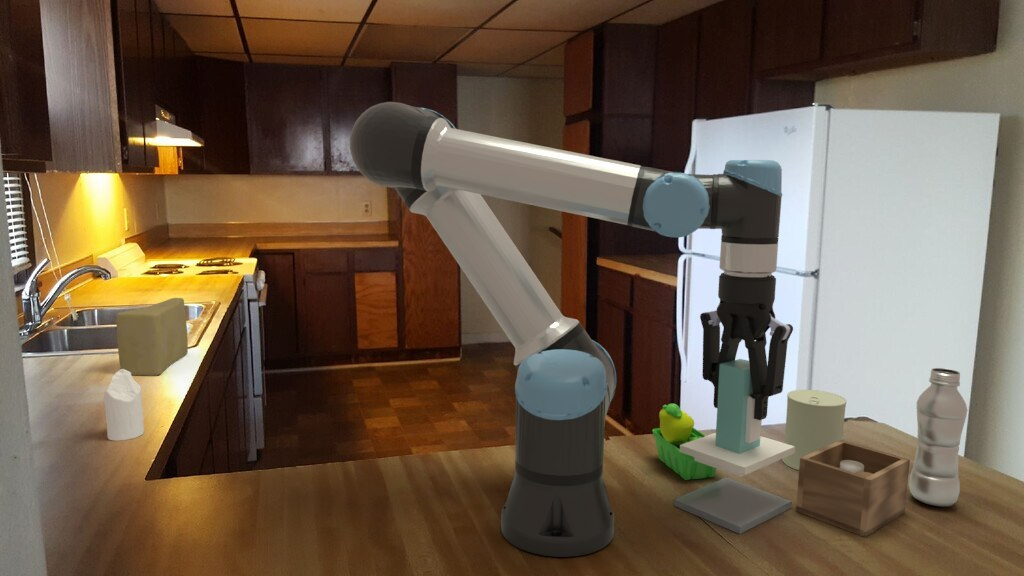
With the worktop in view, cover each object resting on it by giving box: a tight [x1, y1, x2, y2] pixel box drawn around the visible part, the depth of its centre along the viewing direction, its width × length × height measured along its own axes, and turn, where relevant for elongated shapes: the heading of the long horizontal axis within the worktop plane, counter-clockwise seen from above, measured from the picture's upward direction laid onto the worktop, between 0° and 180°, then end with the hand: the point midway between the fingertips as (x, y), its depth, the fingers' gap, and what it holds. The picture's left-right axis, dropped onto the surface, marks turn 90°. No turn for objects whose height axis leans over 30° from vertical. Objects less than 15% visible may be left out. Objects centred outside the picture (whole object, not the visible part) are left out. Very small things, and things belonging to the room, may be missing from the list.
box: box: [795, 439, 911, 538], centre depth 107 cm, size 12×10×8 cm
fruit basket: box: [651, 403, 717, 481], centre depth 122 cm, size 11×9×11 cm
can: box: [781, 389, 847, 471], centre depth 125 cm, size 9×9×12 cm
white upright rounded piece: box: [103, 368, 145, 442], centre depth 133 cm, size 6×12×6 cm
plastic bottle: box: [908, 367, 968, 508], centre depth 110 cm, size 6×7×20 cm
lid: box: [680, 358, 795, 478], centre depth 106 cm, size 13×11×14 cm
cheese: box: [115, 297, 189, 377], centre depth 182 cm, size 22×10×15 cm, turn 177°
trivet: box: [673, 476, 793, 535], centre depth 109 cm, size 13×11×1 cm
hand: (738, 435), depth 107 cm, fingers closed on lid, 4 cm apart
